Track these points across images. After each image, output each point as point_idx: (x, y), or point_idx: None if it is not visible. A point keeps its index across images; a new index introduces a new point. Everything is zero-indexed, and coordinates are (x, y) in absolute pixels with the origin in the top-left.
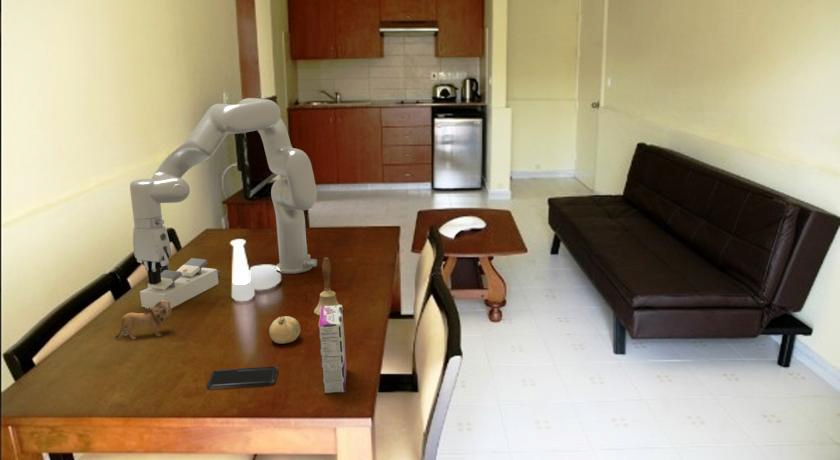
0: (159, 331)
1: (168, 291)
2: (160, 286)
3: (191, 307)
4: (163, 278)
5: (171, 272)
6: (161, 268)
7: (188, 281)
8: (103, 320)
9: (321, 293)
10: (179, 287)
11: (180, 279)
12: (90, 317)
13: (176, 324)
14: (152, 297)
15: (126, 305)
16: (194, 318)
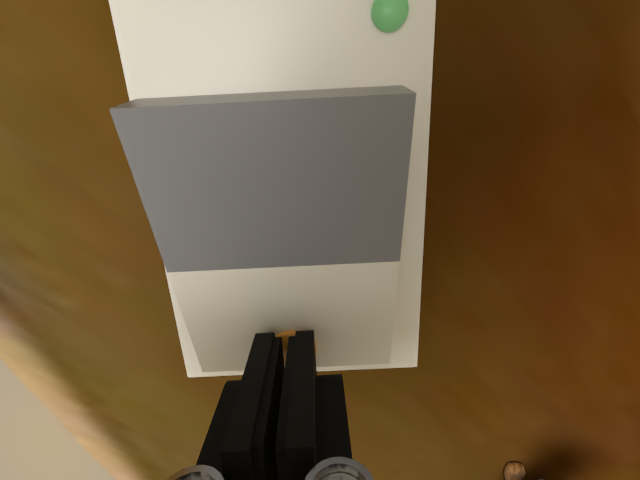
0: (522, 466)
1: (398, 304)
2: (352, 357)
3: (498, 212)
4: (286, 279)
5: (275, 146)
6: (369, 475)
7: (400, 25)
8: (192, 465)
9: None
10: (425, 202)
11: (266, 1)
12: (106, 464)
13: (550, 396)
14: None
15: (113, 317)
16: (602, 321)
